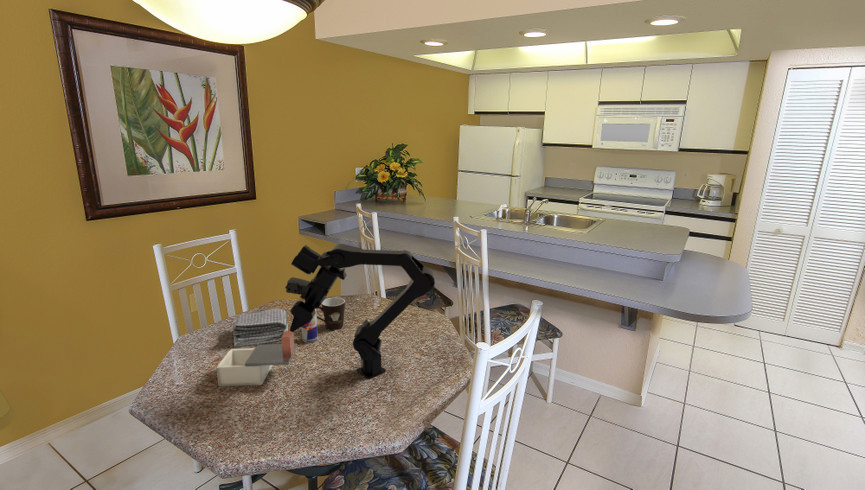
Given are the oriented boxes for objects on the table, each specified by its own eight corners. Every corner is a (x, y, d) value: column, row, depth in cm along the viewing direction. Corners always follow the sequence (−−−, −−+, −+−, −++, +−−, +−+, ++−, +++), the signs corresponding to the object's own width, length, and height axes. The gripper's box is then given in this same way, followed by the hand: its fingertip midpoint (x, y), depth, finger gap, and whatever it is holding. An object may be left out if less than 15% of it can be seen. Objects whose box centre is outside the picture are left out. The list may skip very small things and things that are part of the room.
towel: (289, 341, 151) (287, 320, 149) (232, 349, 145) (229, 327, 143) (287, 323, 164) (286, 304, 163) (235, 330, 158) (233, 310, 156)
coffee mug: (349, 322, 166) (348, 298, 163) (342, 332, 157) (341, 306, 155) (319, 320, 167) (318, 296, 164) (311, 330, 158) (310, 305, 156)
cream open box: (272, 365, 134) (270, 347, 132) (261, 384, 123) (259, 366, 122) (232, 366, 133) (230, 349, 131) (218, 386, 122) (216, 367, 121)
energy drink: (302, 343, 148) (299, 311, 145) (302, 337, 153) (300, 305, 150) (318, 342, 149) (316, 310, 146) (317, 335, 154) (315, 304, 151)
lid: (297, 345, 133) (295, 325, 131) (288, 364, 122) (286, 342, 120) (257, 347, 132) (255, 326, 130) (245, 366, 121) (242, 344, 119)
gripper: (307, 259, 132) (282, 298, 135) (288, 278, 114) (259, 323, 117) (338, 278, 133) (313, 317, 136) (324, 300, 115) (295, 344, 118)
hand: (295, 324), depth 127 cm, fingers open, 9 cm apart
